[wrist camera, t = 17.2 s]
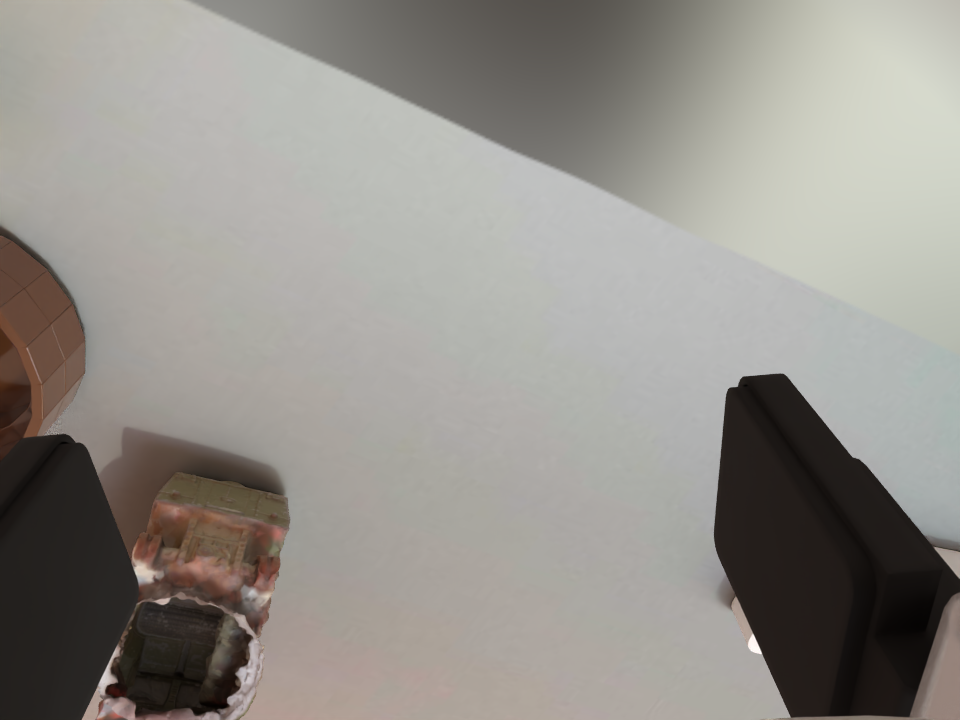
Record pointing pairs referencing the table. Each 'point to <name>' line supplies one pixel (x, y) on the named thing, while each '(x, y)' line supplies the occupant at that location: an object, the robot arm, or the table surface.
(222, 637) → the decorative box
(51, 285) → the bowl
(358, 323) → the table surface
